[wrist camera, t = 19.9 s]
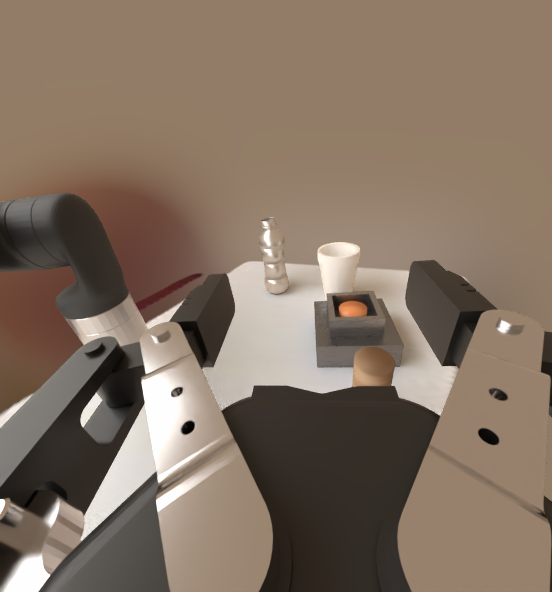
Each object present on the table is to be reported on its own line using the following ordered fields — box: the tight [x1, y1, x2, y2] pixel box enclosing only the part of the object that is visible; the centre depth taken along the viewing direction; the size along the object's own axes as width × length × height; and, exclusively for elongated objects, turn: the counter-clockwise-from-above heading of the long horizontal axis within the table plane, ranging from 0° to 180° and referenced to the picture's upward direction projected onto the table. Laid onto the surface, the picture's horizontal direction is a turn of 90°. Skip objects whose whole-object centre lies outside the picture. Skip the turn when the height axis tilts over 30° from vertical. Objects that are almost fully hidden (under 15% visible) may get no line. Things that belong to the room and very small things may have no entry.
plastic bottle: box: [259, 217, 289, 294], centre depth 65 cm, size 6×7×20 cm
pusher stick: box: [353, 346, 395, 387], centre depth 30 cm, size 4×4×14 cm
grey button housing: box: [314, 291, 404, 367], centre depth 48 cm, size 14×14×8 cm
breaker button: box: [339, 301, 367, 317], centre depth 46 cm, size 5×5×2 cm
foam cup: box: [318, 242, 360, 300], centre depth 60 cm, size 10×9×13 cm
